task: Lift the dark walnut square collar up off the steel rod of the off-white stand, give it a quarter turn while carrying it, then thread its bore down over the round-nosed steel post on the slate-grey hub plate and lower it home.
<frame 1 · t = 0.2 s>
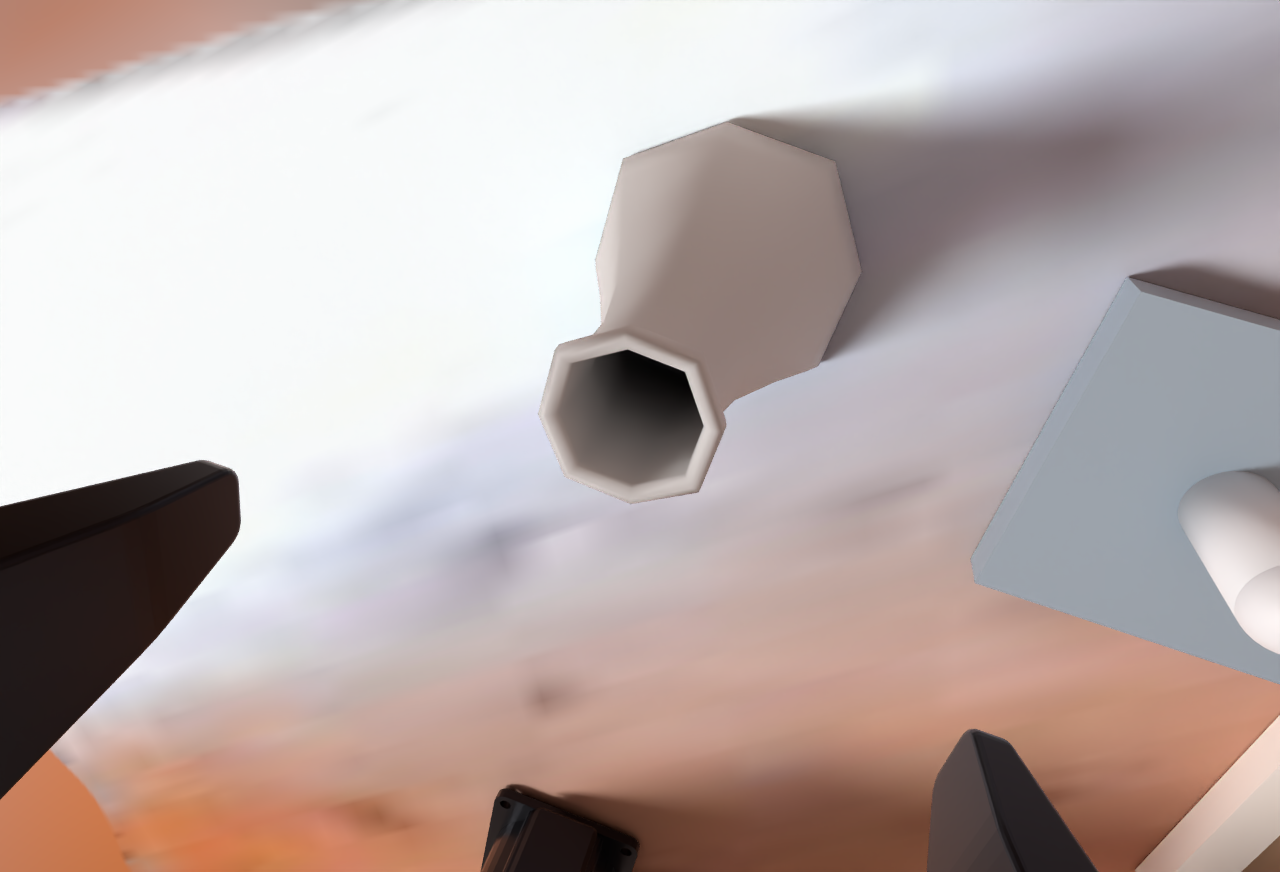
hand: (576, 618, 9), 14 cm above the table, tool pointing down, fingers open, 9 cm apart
hub plate: (1211, 484, 21), on the table
flask: (726, 260, 22), on the table
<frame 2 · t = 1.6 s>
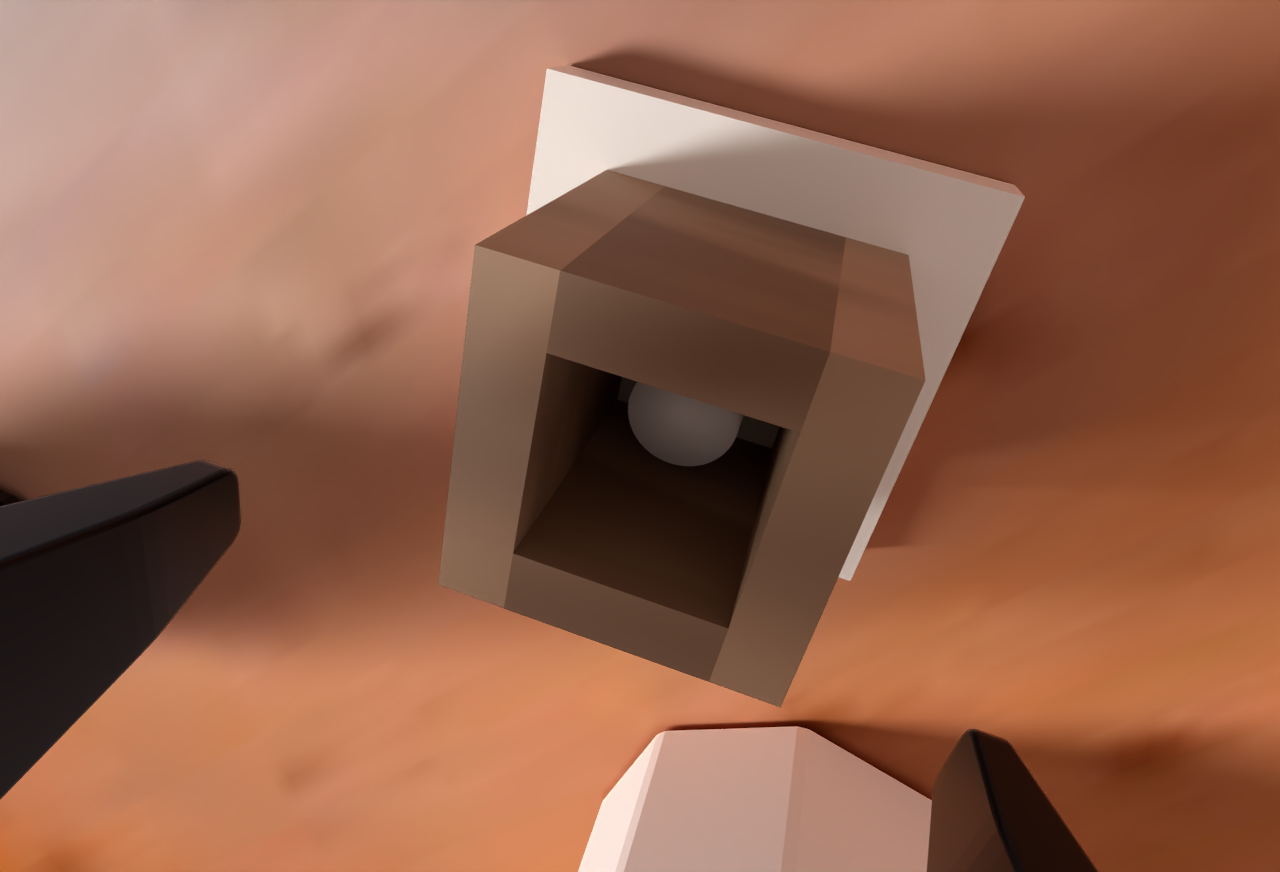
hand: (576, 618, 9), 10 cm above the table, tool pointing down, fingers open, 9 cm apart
walnut collar: (714, 351, 17), point 1 cm above the table, touching rod stand
cup: (774, 840, 25), on the table
rod stand: (723, 331, 18), on the table
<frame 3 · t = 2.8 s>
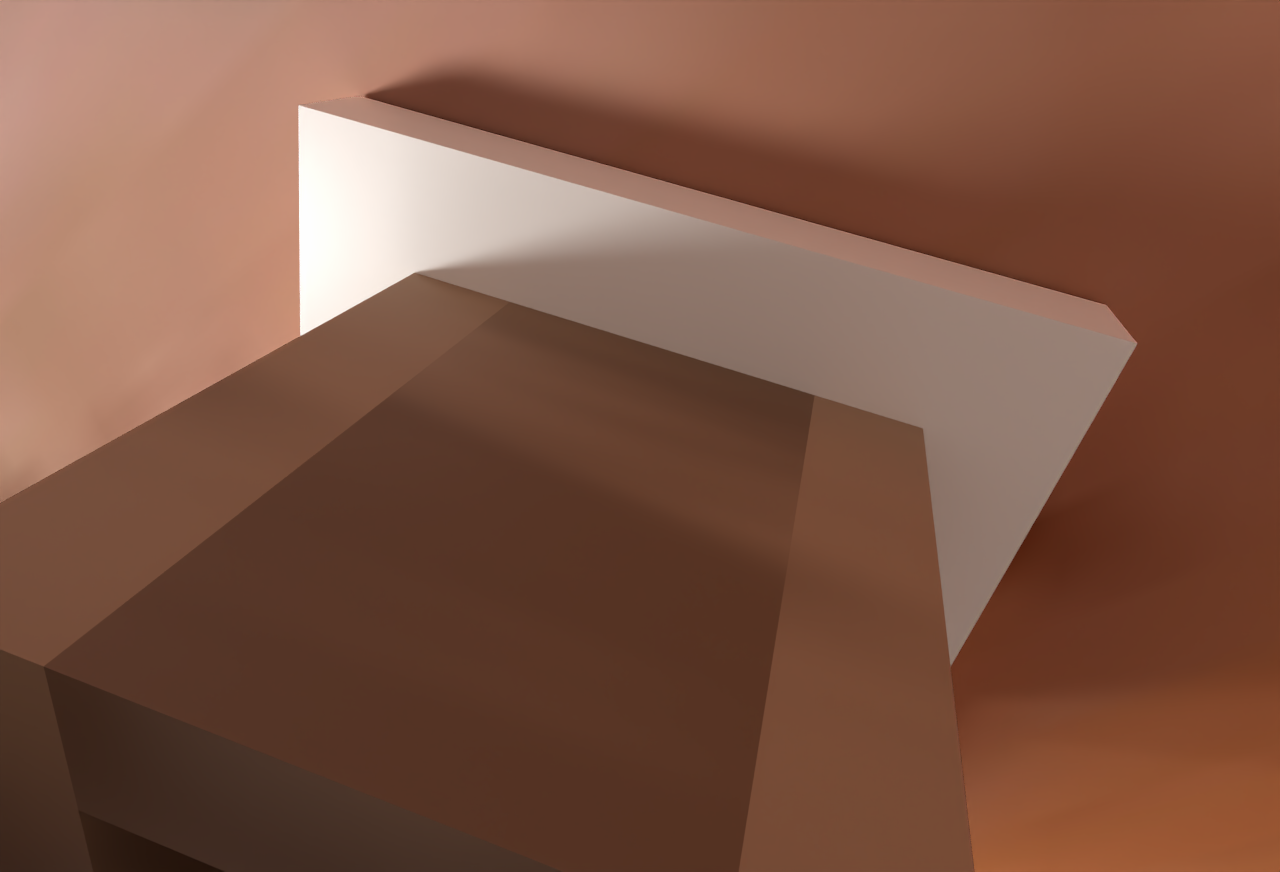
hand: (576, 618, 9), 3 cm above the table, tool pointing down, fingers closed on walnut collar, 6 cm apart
walnut collar: (608, 552, 10), point 1 cm above the table, touching gripper, rod stand
rod stand: (632, 504, 11), on the table
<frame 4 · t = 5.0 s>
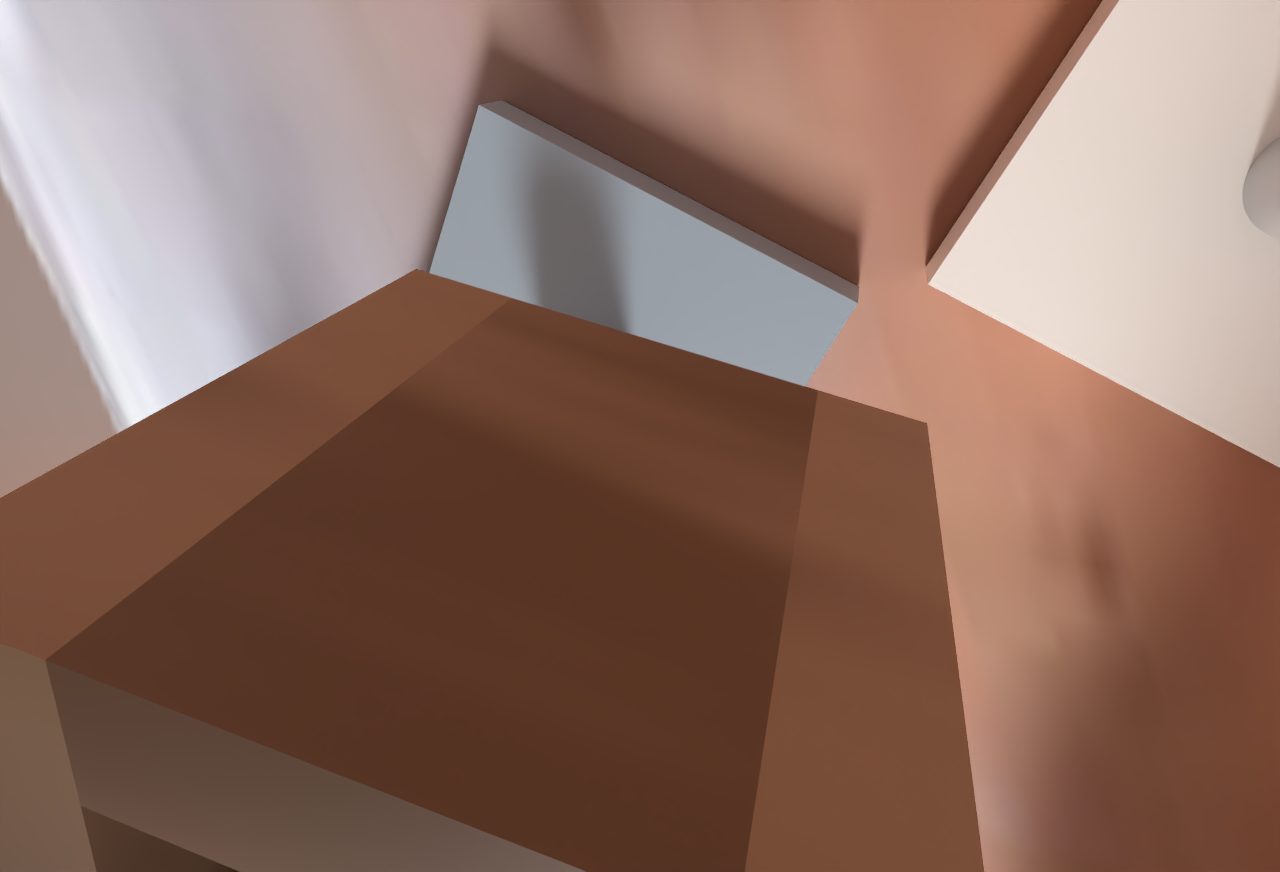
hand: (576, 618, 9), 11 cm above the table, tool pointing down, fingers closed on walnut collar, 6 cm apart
walnut collar: (611, 549, 10), point 10 cm above the table, touching gripper
hub plate: (604, 357, 20), on the table
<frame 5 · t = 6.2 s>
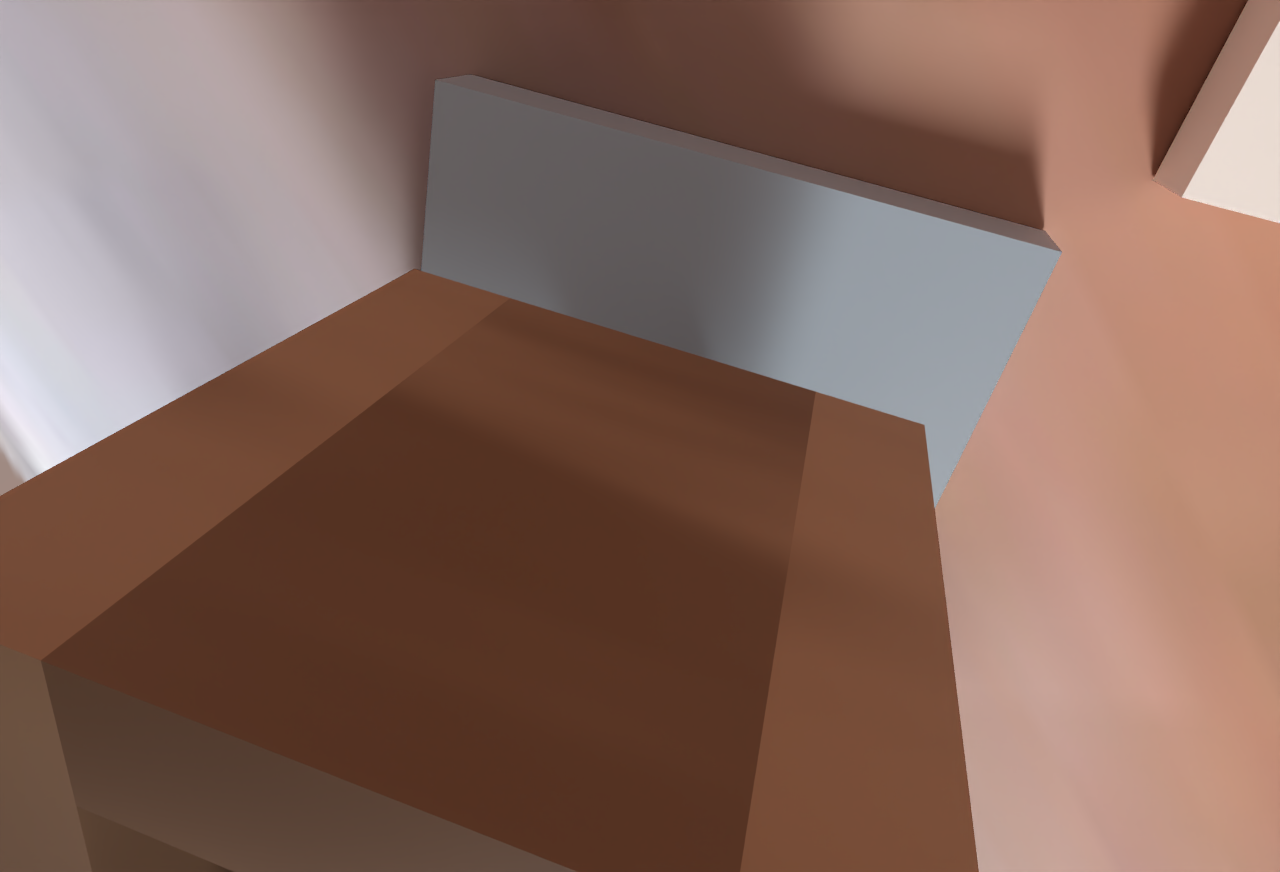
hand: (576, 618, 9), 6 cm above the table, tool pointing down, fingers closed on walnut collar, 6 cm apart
walnut collar: (609, 549, 10), point 5 cm above the table, touching gripper
hub plate: (676, 405, 14), on the table
when the fingers open (3 cm above the table, at t = 7.3 s): walnut collar stays where it is, resting on hub plate.
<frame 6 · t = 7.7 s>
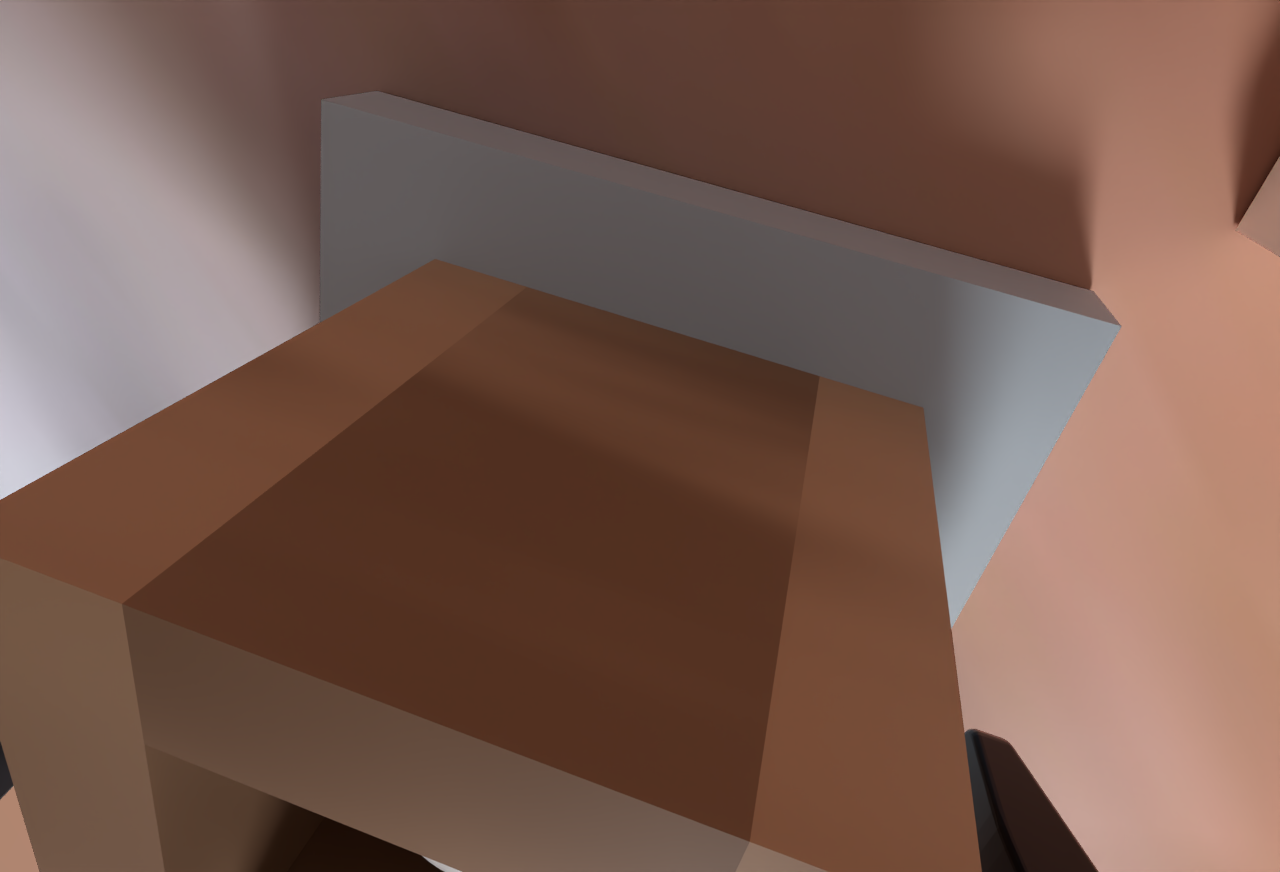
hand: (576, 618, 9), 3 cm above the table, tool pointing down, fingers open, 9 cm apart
walnut collar: (619, 530, 11), point 1 cm above the table, touching hub plate
hub plate: (638, 486, 12), on the table
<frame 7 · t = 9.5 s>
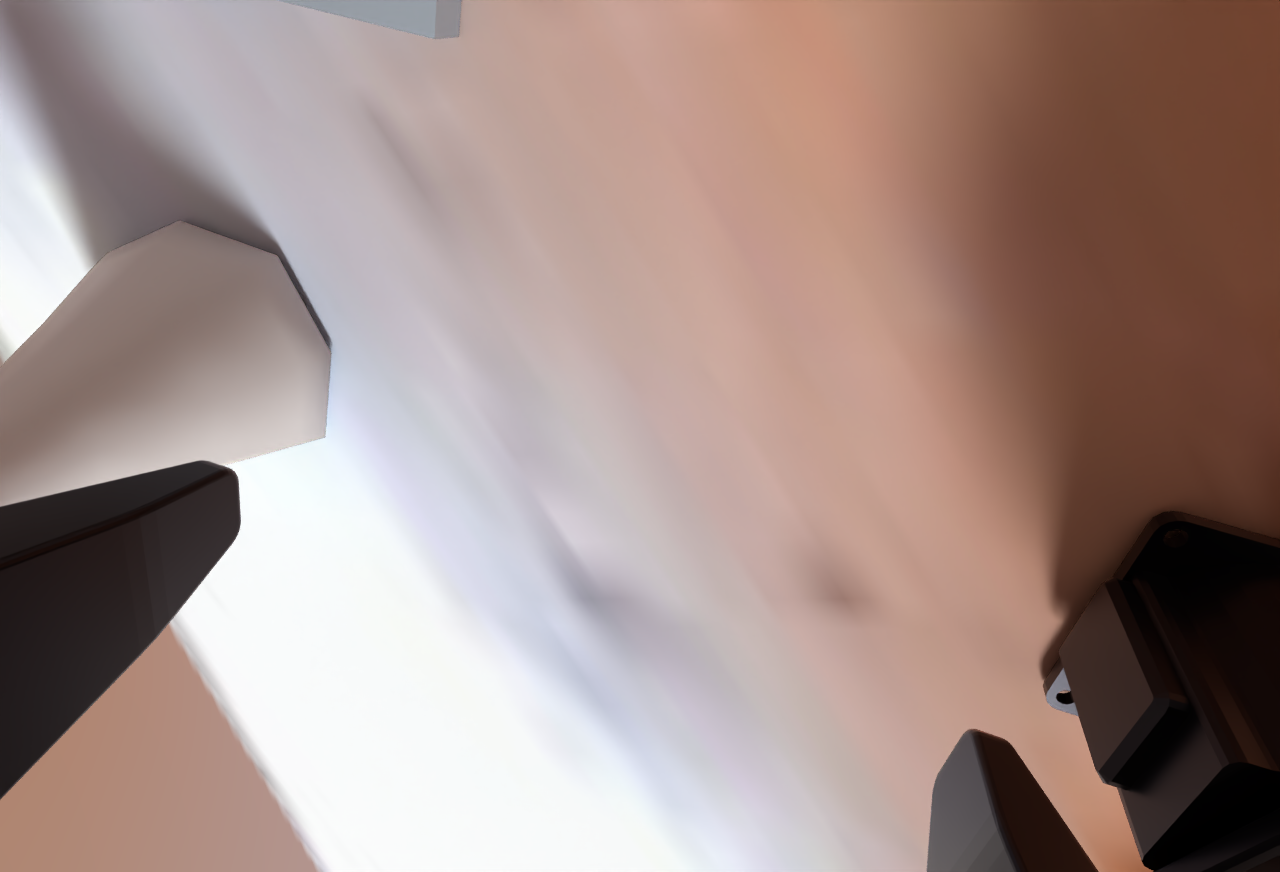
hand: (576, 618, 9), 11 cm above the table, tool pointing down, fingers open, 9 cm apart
flask: (230, 341, 23), on the table
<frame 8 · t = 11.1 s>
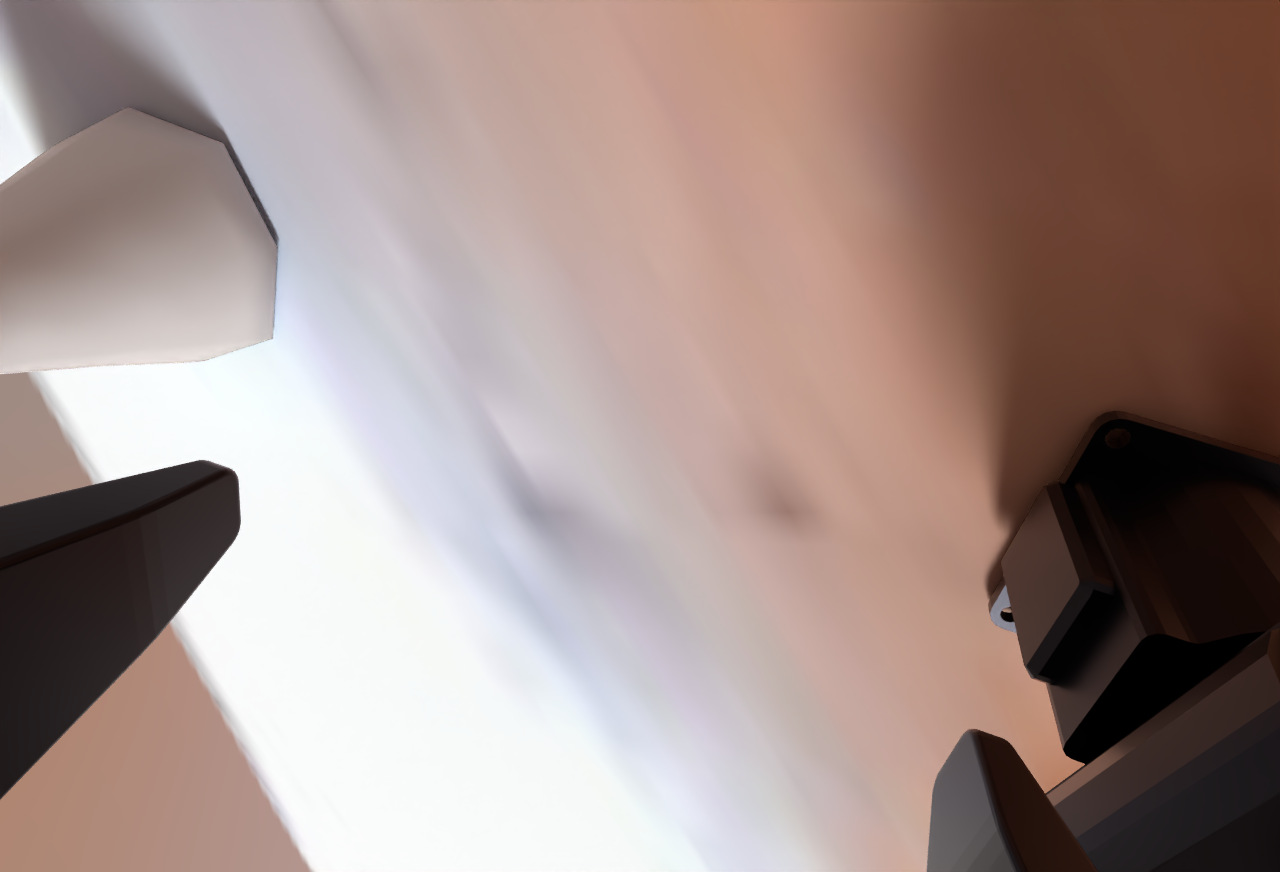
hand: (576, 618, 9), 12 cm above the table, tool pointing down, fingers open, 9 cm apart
flask: (181, 239, 23), on the table
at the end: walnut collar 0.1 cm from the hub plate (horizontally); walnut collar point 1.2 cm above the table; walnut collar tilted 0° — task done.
